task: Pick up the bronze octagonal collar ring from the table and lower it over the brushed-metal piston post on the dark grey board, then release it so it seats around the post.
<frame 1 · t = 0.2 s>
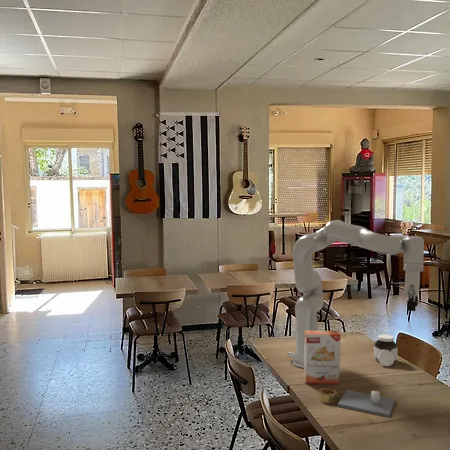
hand: (412, 308, 194), 31 cm above the table, fingers open, 9 cm apart
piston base: (366, 403, 175), on the table
spread jar: (386, 363, 219), on the table
cracker box: (321, 382, 197), on the table
ring: (327, 399, 179), on the table
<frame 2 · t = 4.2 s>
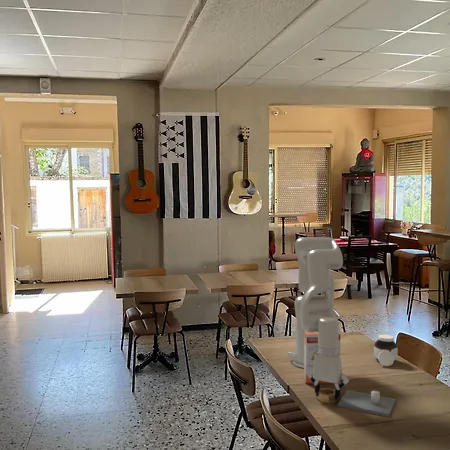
hand: (327, 396, 179), 1 cm above the table, fingers closed on ring, 6 cm apart
ring: (327, 399, 179), on the table, touching gripper
everything else where it was.
when the fingers open (3 cm above the table, at t = 9.4 s): ring stays where it is, resting on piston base.
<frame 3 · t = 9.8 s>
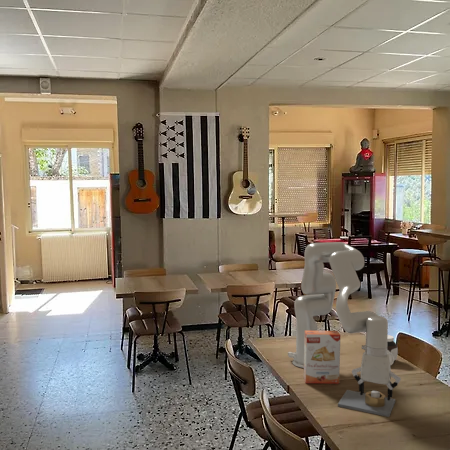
hand: (375, 396, 174), 3 cm above the table, fingers open, 9 cm apart
ring: (375, 403, 174), point 1 cm above the table, touching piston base
everything else where it was.
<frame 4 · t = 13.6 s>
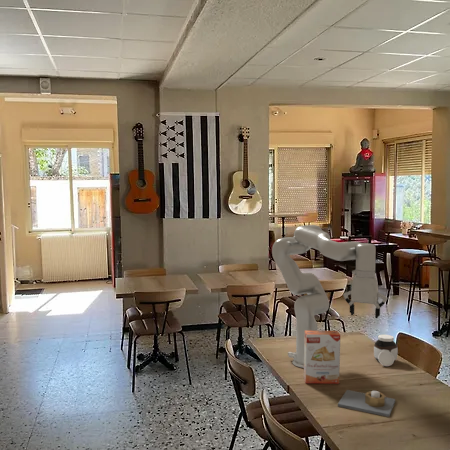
hand: (364, 316, 192), 28 cm above the table, fingers open, 9 cm apart
nothing on the table moved.
at the end: ring 0.0 cm from the target spot on the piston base, point 1.0 cm above the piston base's base; the gripper is holding nothing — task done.
